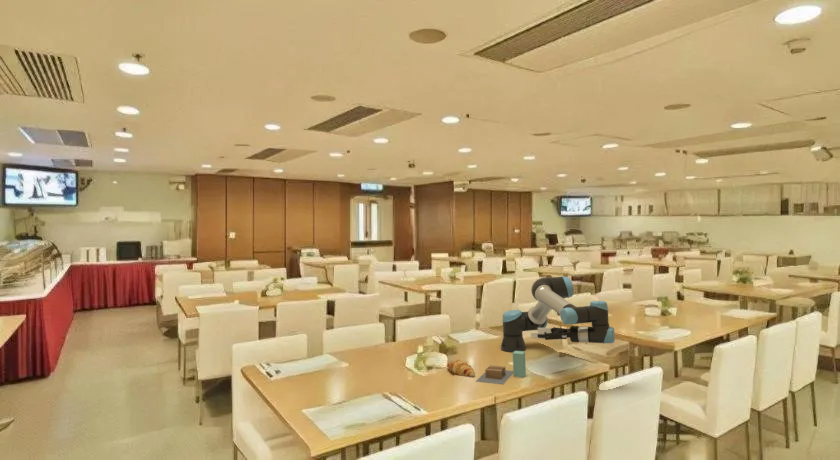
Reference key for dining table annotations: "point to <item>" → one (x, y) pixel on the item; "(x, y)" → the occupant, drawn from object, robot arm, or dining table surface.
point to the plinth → (495, 372)
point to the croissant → (461, 368)
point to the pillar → (519, 364)
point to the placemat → (495, 381)
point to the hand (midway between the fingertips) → (534, 332)
